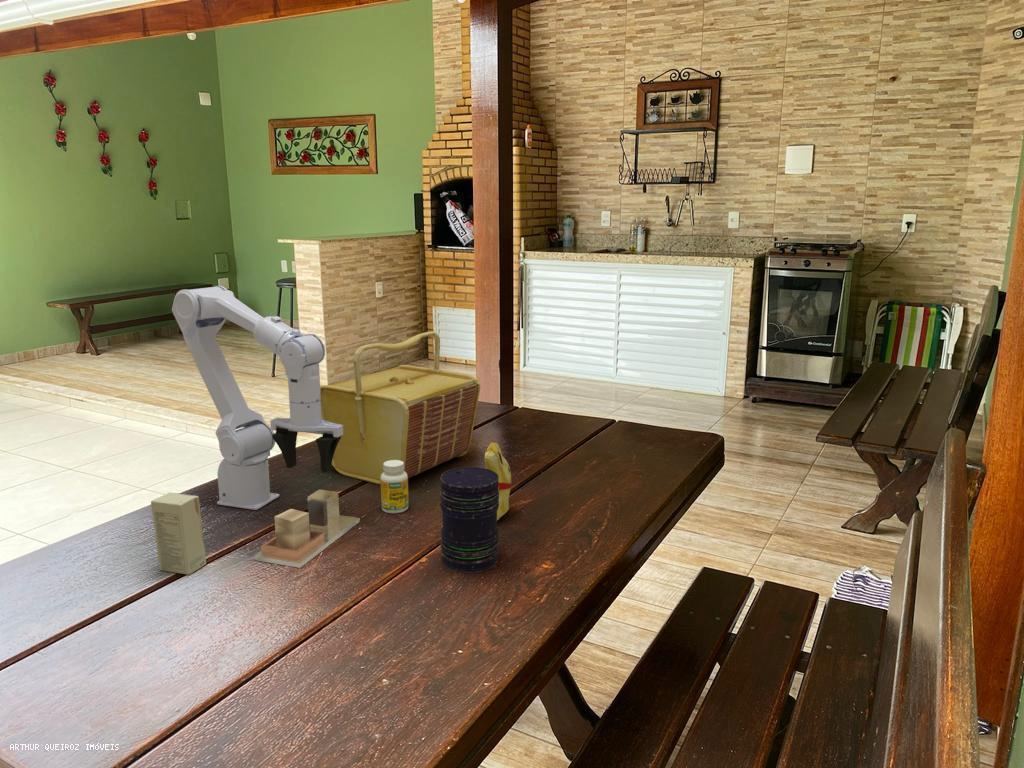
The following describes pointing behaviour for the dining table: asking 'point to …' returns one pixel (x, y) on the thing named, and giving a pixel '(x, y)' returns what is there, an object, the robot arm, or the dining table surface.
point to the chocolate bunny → (502, 468)
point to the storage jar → (469, 519)
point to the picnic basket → (400, 415)
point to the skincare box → (178, 533)
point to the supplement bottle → (394, 487)
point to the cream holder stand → (312, 532)
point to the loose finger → (292, 529)
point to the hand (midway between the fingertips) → (308, 468)
